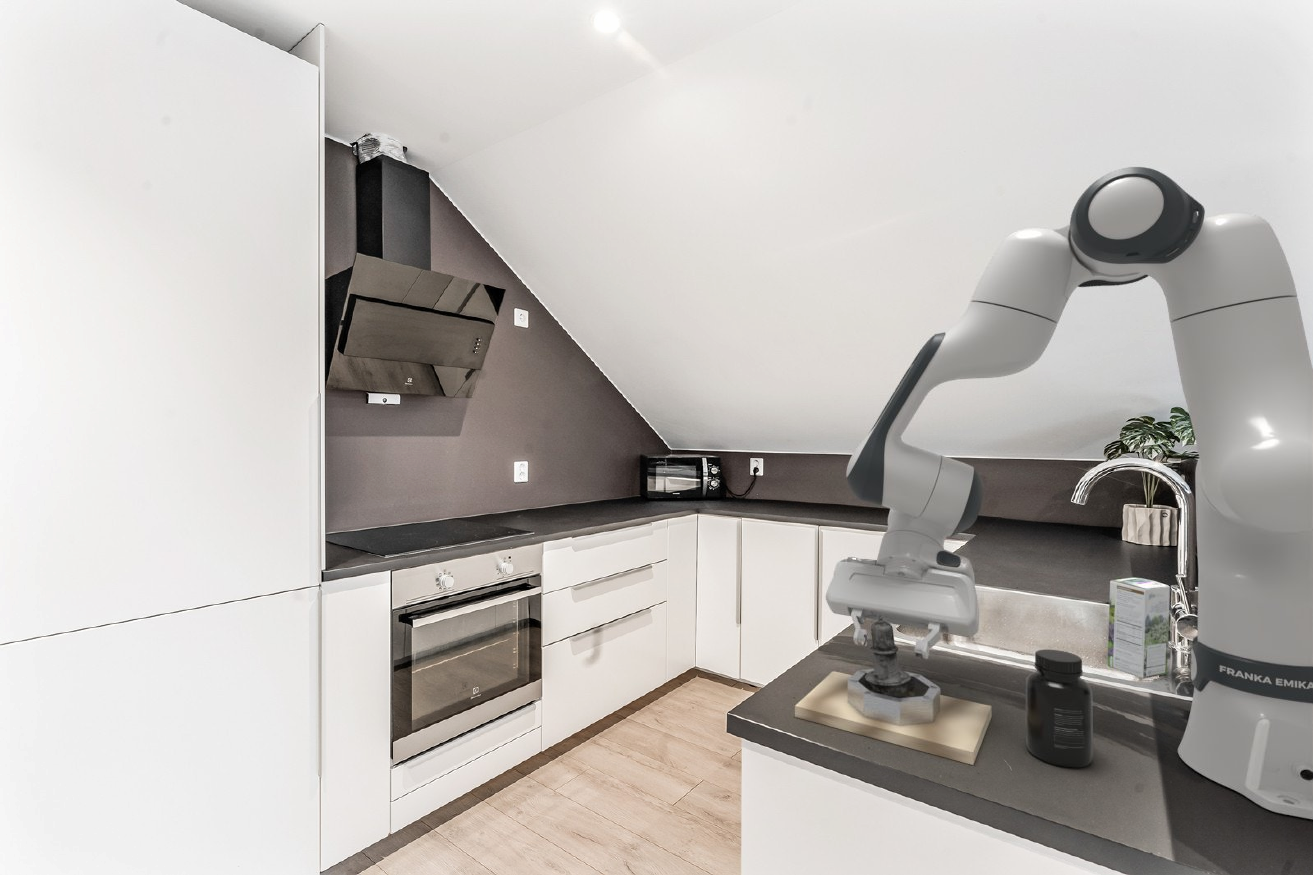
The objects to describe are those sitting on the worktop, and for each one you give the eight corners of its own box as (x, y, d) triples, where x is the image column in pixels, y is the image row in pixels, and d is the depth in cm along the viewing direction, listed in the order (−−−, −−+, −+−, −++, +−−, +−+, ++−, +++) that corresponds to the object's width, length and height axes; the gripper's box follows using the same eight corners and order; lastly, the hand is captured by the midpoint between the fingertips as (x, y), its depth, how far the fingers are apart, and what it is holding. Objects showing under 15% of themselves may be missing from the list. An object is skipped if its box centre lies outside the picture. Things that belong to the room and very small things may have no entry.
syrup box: (1130, 662, 108) (1131, 575, 107) (1169, 675, 102) (1170, 584, 102) (1106, 667, 106) (1107, 578, 105) (1145, 680, 100) (1146, 587, 100)
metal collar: (945, 701, 89) (945, 679, 89) (927, 733, 80) (927, 709, 80) (864, 683, 95) (864, 663, 95) (839, 710, 86) (839, 688, 86)
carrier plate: (991, 717, 88) (991, 706, 87) (973, 765, 75) (973, 752, 75) (832, 680, 100) (832, 671, 100) (794, 716, 88) (794, 705, 88)
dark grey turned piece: (903, 715, 84) (892, 622, 84) (861, 707, 88) (850, 618, 88) (920, 698, 88) (909, 611, 88) (879, 691, 92) (868, 607, 92)
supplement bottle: (1098, 754, 78) (1099, 655, 77) (1084, 776, 73) (1085, 671, 73) (1034, 735, 82) (1035, 642, 82) (1017, 754, 78) (1018, 655, 77)
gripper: (834, 543, 99) (809, 623, 91) (982, 561, 87) (968, 653, 79) (843, 567, 103) (820, 645, 95) (986, 587, 91) (973, 678, 83)
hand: (889, 649), depth 87 cm, fingers open, 7 cm apart
